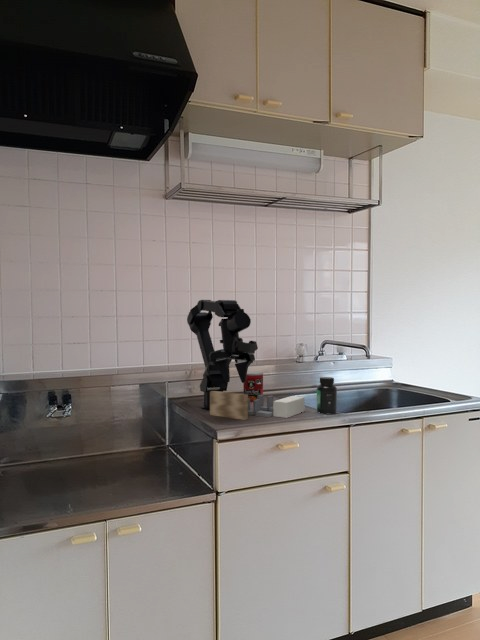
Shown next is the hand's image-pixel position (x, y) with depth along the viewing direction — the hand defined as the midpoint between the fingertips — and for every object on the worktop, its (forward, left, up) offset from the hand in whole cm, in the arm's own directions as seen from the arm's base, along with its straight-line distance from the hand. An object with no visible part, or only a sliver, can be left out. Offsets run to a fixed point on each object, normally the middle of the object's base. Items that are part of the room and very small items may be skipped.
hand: (235, 382), depth 164 cm
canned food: (-13, +31, -12) cm, 35 cm away
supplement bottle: (+21, +25, -12) cm, 35 cm away
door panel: (-3, 0, -12) cm, 12 cm away
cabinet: (+7, +14, -12) cm, 19 cm away
